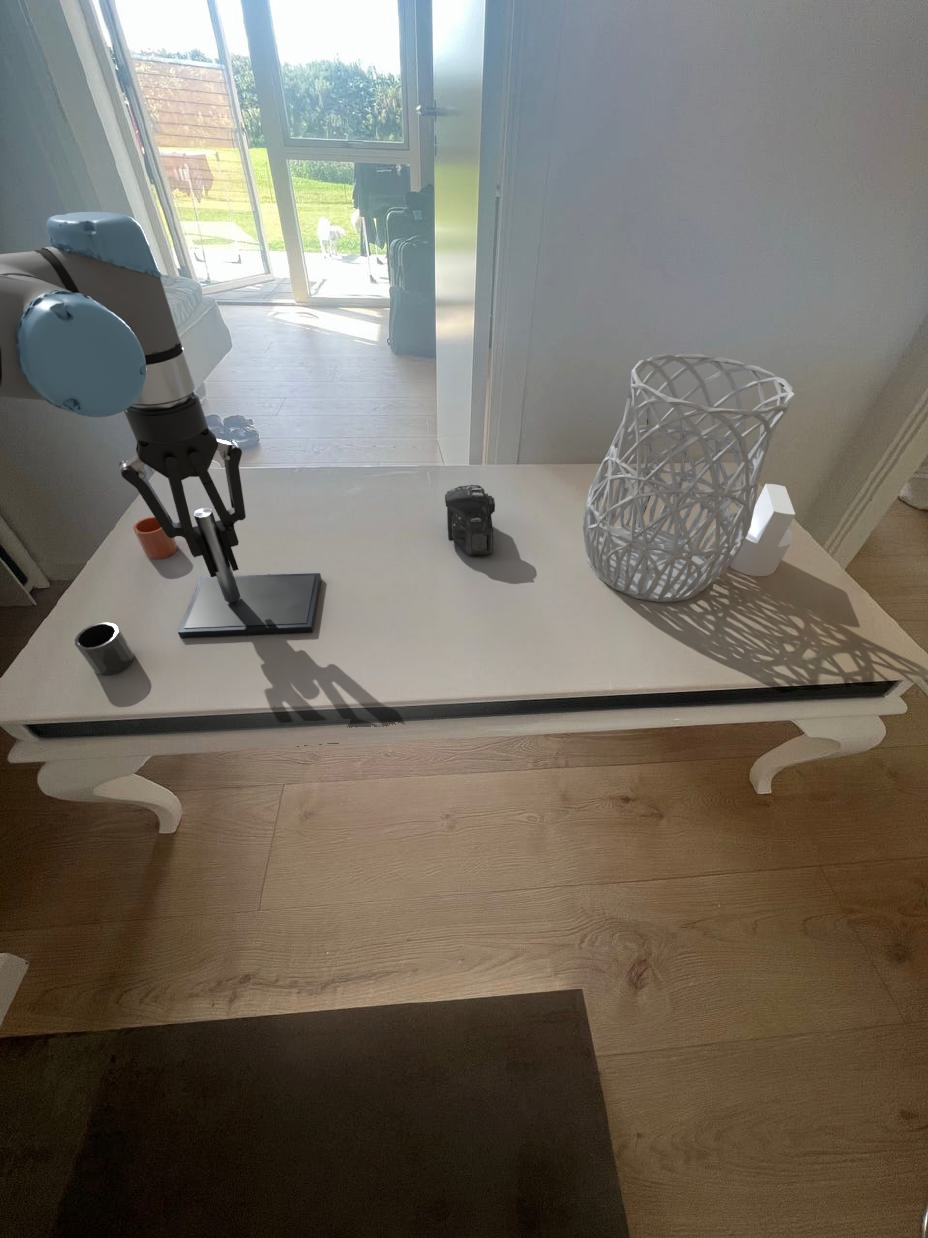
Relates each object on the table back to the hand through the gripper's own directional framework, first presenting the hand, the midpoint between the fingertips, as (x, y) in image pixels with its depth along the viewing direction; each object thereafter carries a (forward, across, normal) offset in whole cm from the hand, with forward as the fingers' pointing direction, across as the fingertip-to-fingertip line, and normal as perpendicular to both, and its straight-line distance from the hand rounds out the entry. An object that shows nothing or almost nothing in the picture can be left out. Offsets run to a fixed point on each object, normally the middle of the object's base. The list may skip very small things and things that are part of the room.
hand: (222, 567), depth 72 cm
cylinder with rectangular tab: (+7, -79, +29) cm, 84 cm away
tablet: (+7, -2, +1) cm, 8 cm away
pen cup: (+7, +8, -20) cm, 22 cm away
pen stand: (+7, +17, +3) cm, 18 cm away
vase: (+7, -62, +22) cm, 66 cm away
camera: (+7, -39, +1) cm, 40 cm away
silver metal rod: (+6, 0, 0) cm, 6 cm away
